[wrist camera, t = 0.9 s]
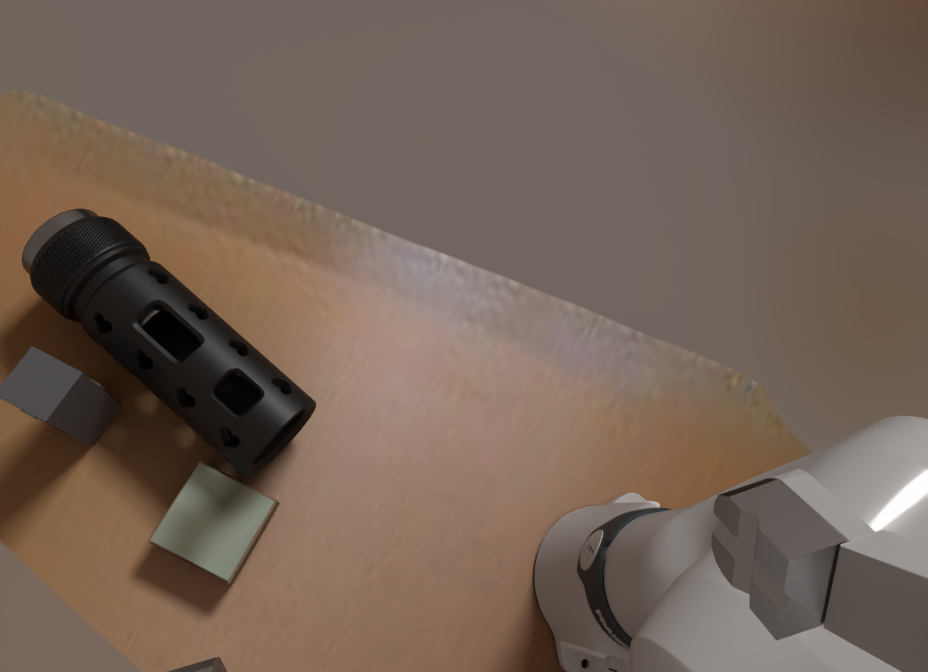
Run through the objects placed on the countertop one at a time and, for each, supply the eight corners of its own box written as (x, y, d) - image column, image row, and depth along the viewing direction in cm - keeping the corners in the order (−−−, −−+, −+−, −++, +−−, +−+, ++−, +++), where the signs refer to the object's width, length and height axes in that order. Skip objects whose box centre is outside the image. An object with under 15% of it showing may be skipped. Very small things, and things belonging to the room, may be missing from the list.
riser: (279, 503, 67) (277, 500, 63) (233, 583, 64) (228, 584, 60) (205, 464, 66) (199, 459, 63) (155, 542, 63) (146, 541, 60)
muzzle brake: (249, 486, 67) (238, 473, 57) (40, 297, 68) (-6, 253, 59) (319, 414, 70) (319, 389, 61) (118, 235, 72) (87, 184, 62)
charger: (125, 400, 67) (87, 366, 56) (91, 448, 65) (44, 423, 54) (83, 378, 67) (36, 340, 56) (48, 425, 65) (-8, 395, 54)
